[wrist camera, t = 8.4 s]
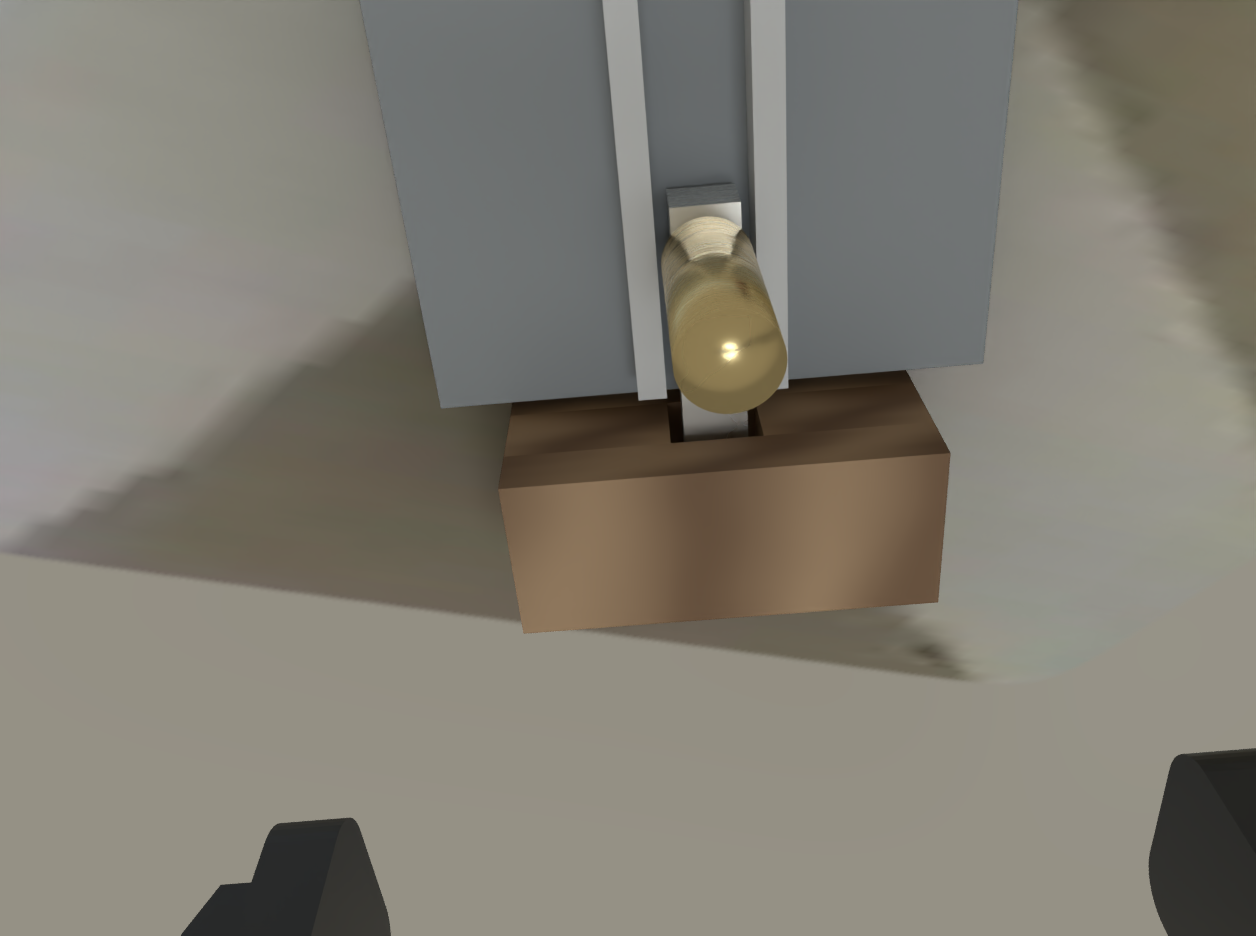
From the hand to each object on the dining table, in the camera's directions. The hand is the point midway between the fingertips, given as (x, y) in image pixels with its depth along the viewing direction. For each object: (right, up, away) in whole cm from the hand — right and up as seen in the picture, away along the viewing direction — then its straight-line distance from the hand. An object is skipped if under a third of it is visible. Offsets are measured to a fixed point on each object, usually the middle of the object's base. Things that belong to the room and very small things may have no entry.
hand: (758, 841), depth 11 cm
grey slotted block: (0, +13, +19) cm, 23 cm away
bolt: (+1, +7, +20) cm, 21 cm away
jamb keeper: (+1, +5, +24) cm, 24 cm away
